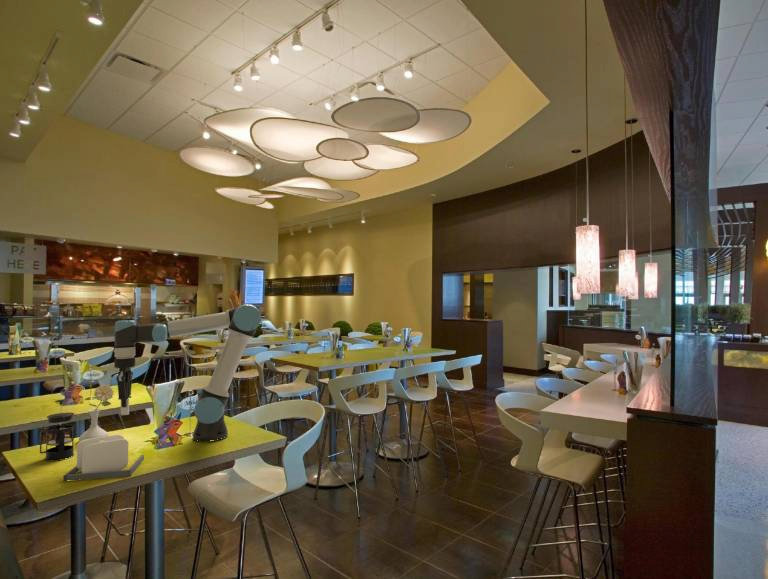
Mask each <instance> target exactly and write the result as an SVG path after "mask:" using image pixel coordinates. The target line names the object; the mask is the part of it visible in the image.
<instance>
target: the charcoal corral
mask: <svg viewBox="0 0 768 579" xmlns="http://www.w3.org/2000/svg"><path fill="white" fill-rule="evenodd" d="M143 460H144V461H145V455H144V454H141V455H140V456H139V457H138V458H137V459H135V461H134V463H132V465H131V466H130V467H129V469H122V470H117V471H105V472H93V473H82V472H80V471H79V469H77V464H76V465H75V466H74V467H72V468H71V469H70V470H69V471H68V472H66V473H65V474H64V475H63V478H62V482H63V481H66V482H68V481H67V480H77V481H80V480H79V479H89V480H95V479H94V478H101V479H110V478H111V477H113V478H123V477H122V476H124V477H132V475H133V473H135V471H137V469H138V468H139V466H140V465H141V464H142V463H143V462H144V461H143ZM142 461H143V462H142ZM141 462H142V463H141ZM76 472H77V473H76ZM79 472H80V473H79ZM75 473H76V474H75Z"/></svg>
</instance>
